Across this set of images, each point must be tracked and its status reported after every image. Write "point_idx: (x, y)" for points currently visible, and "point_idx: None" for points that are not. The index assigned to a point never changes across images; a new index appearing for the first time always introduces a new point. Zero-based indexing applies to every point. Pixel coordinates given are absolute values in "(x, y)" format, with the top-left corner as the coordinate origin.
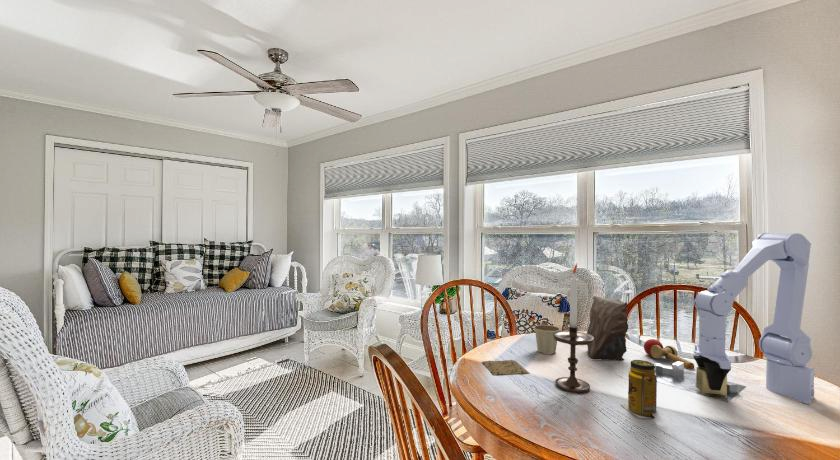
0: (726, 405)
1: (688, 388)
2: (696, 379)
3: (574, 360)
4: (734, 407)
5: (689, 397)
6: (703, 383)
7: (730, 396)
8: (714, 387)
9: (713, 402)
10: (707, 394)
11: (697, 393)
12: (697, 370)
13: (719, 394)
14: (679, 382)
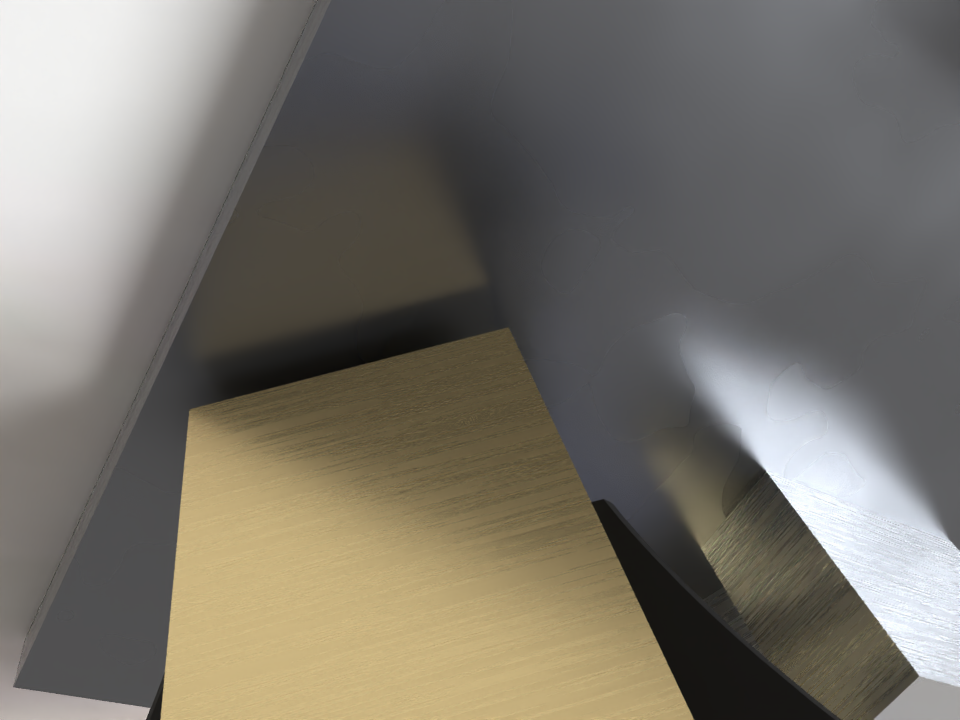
0: (25, 629)
1: (457, 152)
2: (555, 448)
3: None
4: (13, 702)
5: (3, 84)
6: (177, 590)
7: None
8: None
9: (31, 485)
10: None
11: (194, 298)
12: (598, 711)
13: None
14: (832, 3)
